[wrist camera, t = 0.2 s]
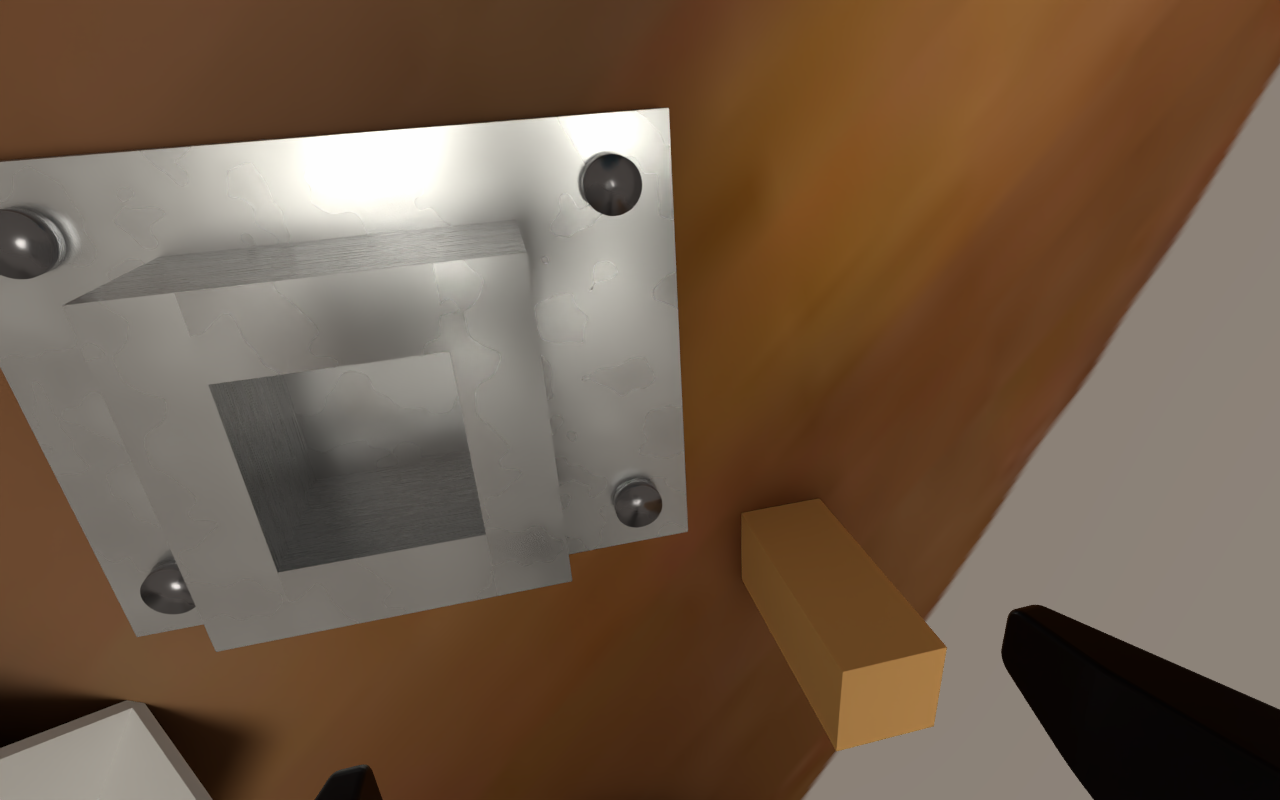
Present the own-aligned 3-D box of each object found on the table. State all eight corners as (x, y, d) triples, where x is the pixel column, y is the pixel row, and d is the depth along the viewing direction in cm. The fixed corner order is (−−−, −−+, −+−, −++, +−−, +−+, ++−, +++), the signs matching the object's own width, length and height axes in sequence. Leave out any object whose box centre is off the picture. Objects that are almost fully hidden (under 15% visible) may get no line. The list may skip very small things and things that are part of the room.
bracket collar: (680, 515, 25) (730, 617, 20) (150, 615, 22) (57, 763, 17) (660, 107, 19) (722, 111, 14) (-68, 166, 16) (-304, 195, 11)
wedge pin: (815, 564, 28) (933, 726, 20) (741, 579, 27) (836, 751, 20) (819, 498, 26) (946, 647, 19) (741, 512, 26) (843, 672, 19)
